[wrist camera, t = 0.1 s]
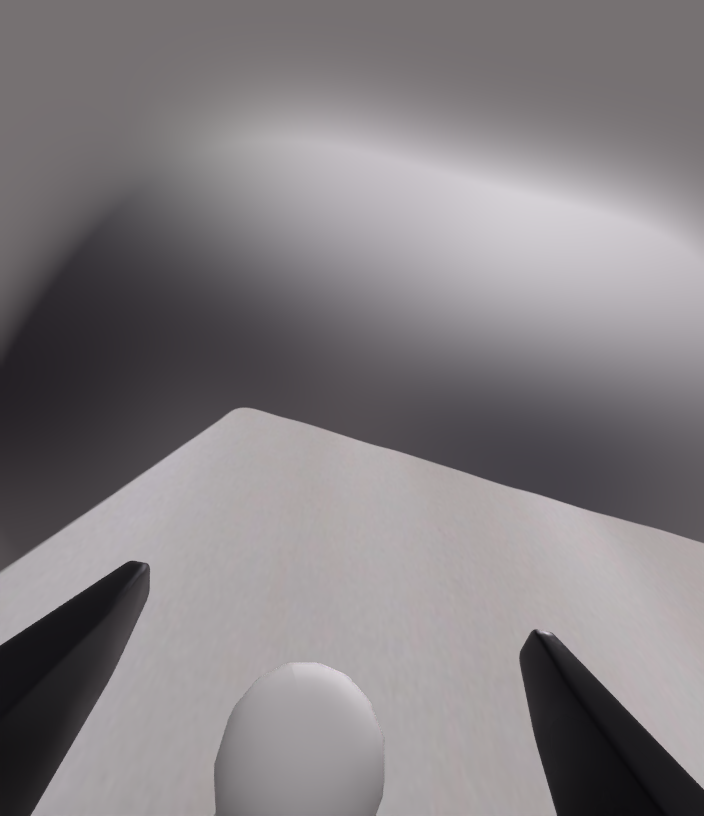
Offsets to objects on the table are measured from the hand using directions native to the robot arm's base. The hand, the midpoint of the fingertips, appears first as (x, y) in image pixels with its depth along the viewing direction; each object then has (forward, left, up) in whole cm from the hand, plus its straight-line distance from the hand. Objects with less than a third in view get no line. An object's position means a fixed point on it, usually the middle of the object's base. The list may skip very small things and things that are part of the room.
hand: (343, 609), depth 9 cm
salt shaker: (-1, 0, -16) cm, 16 cm away
